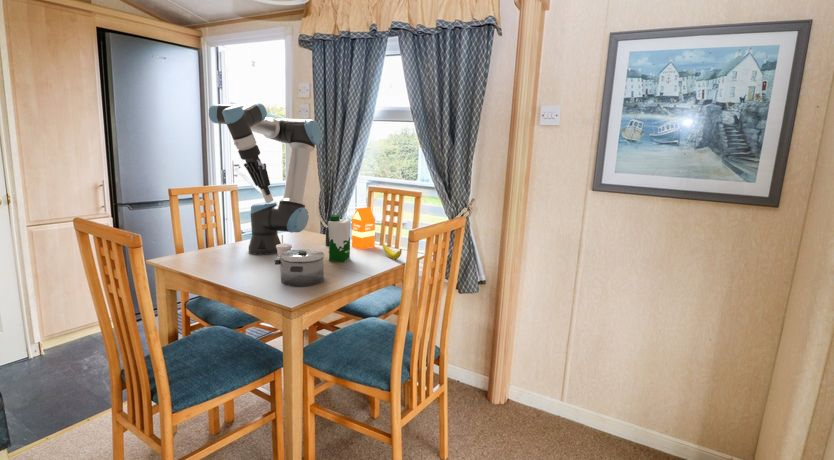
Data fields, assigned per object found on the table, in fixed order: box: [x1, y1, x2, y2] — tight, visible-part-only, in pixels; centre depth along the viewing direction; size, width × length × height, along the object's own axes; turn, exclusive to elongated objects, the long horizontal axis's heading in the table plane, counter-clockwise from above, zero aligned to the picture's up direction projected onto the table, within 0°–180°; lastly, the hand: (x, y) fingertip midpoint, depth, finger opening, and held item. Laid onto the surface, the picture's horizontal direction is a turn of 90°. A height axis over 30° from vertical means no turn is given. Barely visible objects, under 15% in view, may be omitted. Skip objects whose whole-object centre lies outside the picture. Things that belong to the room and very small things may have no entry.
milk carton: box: [327, 214, 351, 263], centre depth 203 cm, size 9×9×20 cm
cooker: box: [274, 255, 325, 288], centre depth 175 cm, size 18×21×9 cm
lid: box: [281, 248, 325, 263], centre depth 173 cm, size 16×16×2 cm
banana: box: [381, 242, 403, 260], centre depth 210 cm, size 3×19×6 cm, turn 30°
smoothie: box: [276, 234, 293, 269], centre depth 190 cm, size 6×6×14 cm
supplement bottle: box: [325, 226, 329, 247], centre depth 231 cm, size 7×7×12 cm
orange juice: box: [351, 206, 376, 250], centre depth 228 cm, size 8×9×20 cm
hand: (269, 201), depth 185 cm, fingers closed
